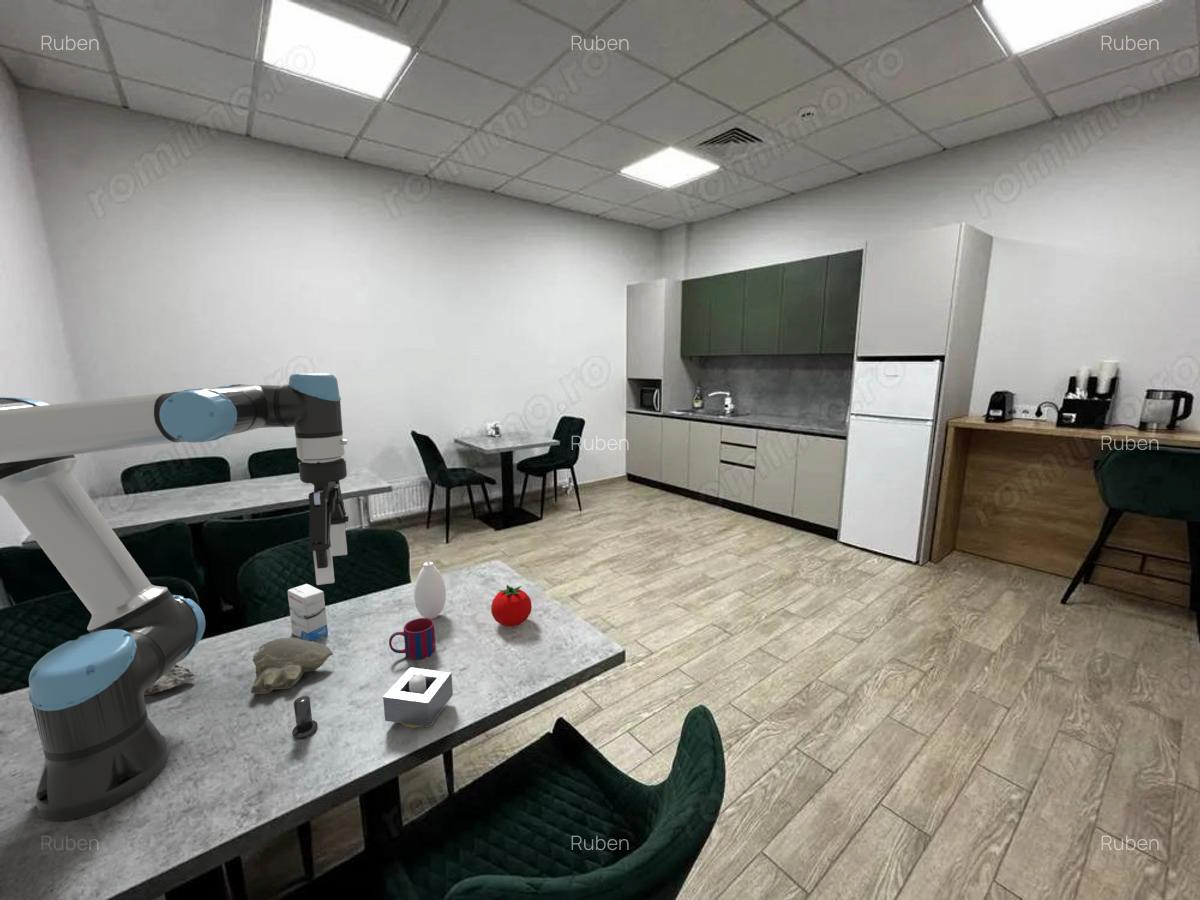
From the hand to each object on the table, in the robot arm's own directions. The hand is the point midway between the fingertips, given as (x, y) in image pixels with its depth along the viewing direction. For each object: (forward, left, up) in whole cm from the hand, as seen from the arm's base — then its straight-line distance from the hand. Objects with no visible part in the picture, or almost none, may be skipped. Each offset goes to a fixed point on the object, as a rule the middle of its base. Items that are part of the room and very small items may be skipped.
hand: (333, 568), depth 93 cm
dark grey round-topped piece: (-6, -6, -29) cm, 30 cm away
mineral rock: (-39, +19, -29) cm, 52 cm away
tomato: (+36, +20, -29) cm, 50 cm away
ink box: (-13, +31, -29) cm, 44 cm away
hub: (+14, -8, -29) cm, 33 cm away
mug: (+12, +14, -29) cm, 34 cm away
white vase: (+16, +30, -29) cm, 45 cm away
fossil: (-12, +12, -29) cm, 34 cm away
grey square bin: (+14, -8, -27) cm, 32 cm away
